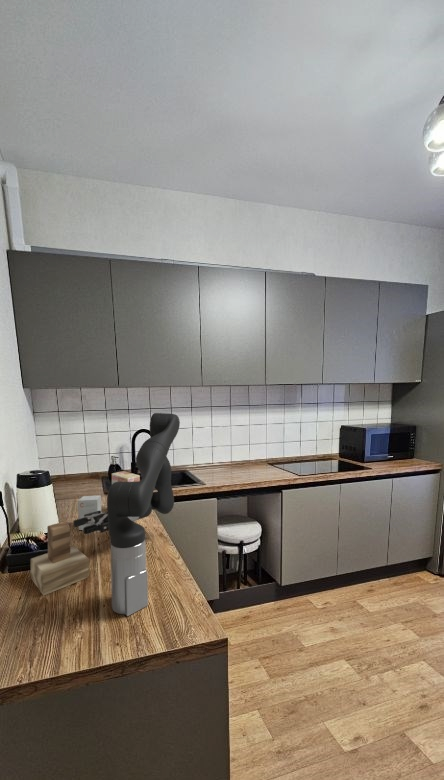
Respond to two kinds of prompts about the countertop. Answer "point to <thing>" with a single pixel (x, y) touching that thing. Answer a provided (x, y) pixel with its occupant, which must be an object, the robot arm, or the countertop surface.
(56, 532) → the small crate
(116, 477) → the coffeecake box
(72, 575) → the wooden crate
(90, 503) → the small box
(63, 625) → the countertop surface
